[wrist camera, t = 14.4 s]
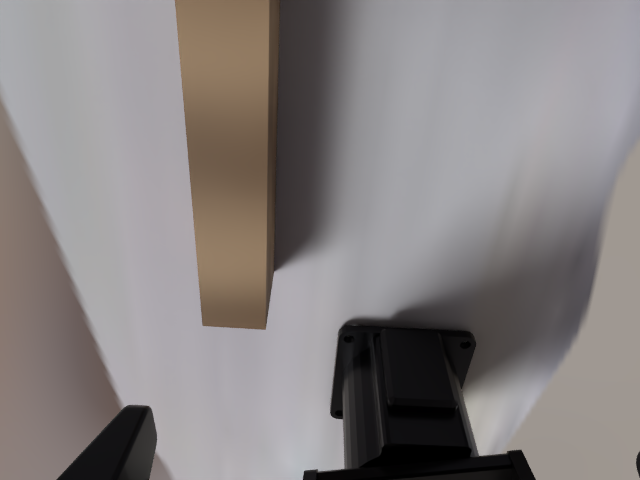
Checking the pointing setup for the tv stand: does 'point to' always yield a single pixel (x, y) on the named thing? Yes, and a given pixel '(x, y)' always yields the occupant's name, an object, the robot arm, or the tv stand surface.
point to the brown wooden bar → (232, 151)
